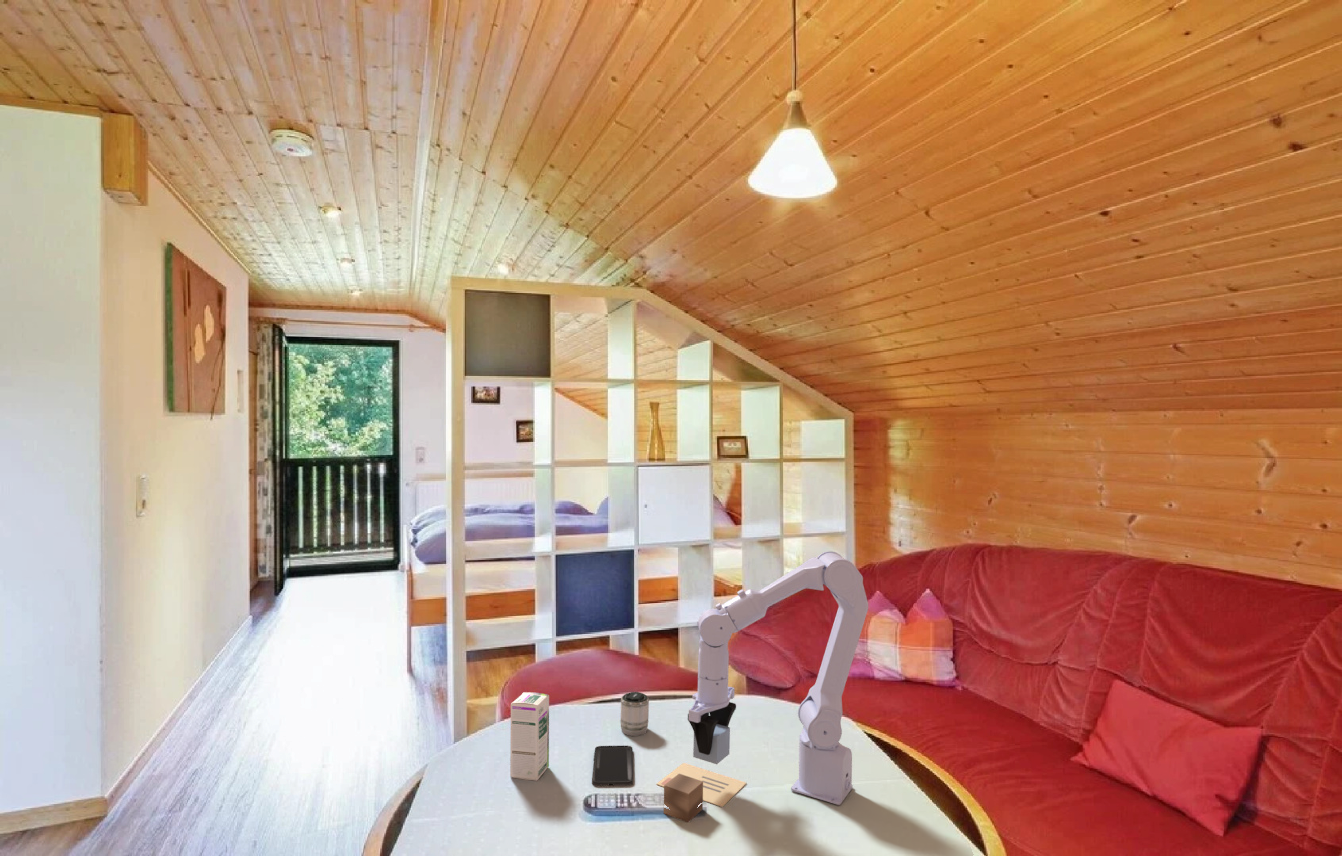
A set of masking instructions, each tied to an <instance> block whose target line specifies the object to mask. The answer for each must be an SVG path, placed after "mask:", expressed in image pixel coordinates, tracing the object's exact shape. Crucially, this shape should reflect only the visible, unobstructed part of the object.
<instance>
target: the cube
mask: <svg viewBox="0 0 1342 856" xmlns="http://www.w3.org/2000/svg"><path fill="white" fill-rule="evenodd" d="M730 736H731V727H729V726H728V727H726V726H723V725H719V724H717V725H716V727H715V730H714V734H713V740H712V748H711V752H710V754H709V755H706V754H703V753H699V750H698V746H697V741H696V737H695V734H694V733H693V748H692V749H693V755H692V757H693V758H695V759H699V760H700V761H701V760H702V761H704V762H708V763H711V764H715V765H718V764H719V763H721V762H722V760H724V759H725V758H726V757H728V756H729V755H730V747H731V745H730V740H731V739H730V738H731V737H730Z"/></svg>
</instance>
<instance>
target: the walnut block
mask: <svg viewBox="0 0 1342 856" xmlns="http://www.w3.org/2000/svg"><path fill="white" fill-rule="evenodd" d="M702 802H703V803H704V801H703V781H700V780H697V779H694V778H691V777H688V776H685V775H682V774H678V775H677V776H675V777H674V778H673V779H671V780H670V781H669V782H668V783H666V784H665V785H664V787H663V805H664V804H665V805H666V806H667V807H669V809H670V810H669V809H666V808H664V807H663V814H664V815H666V816H669V817H672V818H675V819H677V820H681V821H683V822H685V823H689V822H691V820H692V819H694V818H695V817H696V816H697V815H698V814H699V813H700V812H701V811H703V804H701V805H700V806H699V807H698V805H699V804H700V803H702ZM697 807H698V808H697Z"/></svg>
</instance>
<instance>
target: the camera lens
mask: <svg viewBox="0 0 1342 856" xmlns="http://www.w3.org/2000/svg"><path fill="white" fill-rule="evenodd" d="M649 705H650V699H649V697H648V696H647V695H646V694H645V693H642V692H639V691H630V692H627V693H626V694H623V695H622V697H621V698H620V720H619V721H620V722H619V723H620V729H621V733H622V734H625V735H627V736H632V737H638V736H642V735H644V734H646V733H647V731H648V727H649V708H650V706H649Z"/></svg>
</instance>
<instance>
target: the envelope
mask: <svg viewBox="0 0 1342 856" xmlns="http://www.w3.org/2000/svg"><path fill="white" fill-rule="evenodd" d="M678 774H682V775H685V776H688V777H691V778H694V779H697V780H700V781H703V802H706V803H708V804H711V805H714V806H717V807H721V808H723V807H724V806H725V805H726V804H727V803H728V802H729V801H731V799H732V798H734V797H735V795H737V793H739V792H740V790H741V789H743V788H744V787H745V786H746V785H747V782H745V781H743V780H739V779H737V778H733V777H730V776H728V775H727V776H726V775H724V774H721V773H717V772H715V771H710V770H709V769H704V768H702V767H698V766H695V765H692V764H689V763H687V762H686V763H685V762H682V763H681V764H680V765H679V766H677V767H676V768H675V769H673V770H672V771H671V772H670V773H668V774H667V775H666V776H664V777H663V778H662V779H661V780H660V781H658V782H657V783H656V784H655V785H656V786H660V787H662V788H664V785H665V784H666V783H668V782H669V781H670V780H671V779H673V778H674V777H675V776H677V775H678Z"/></svg>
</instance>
